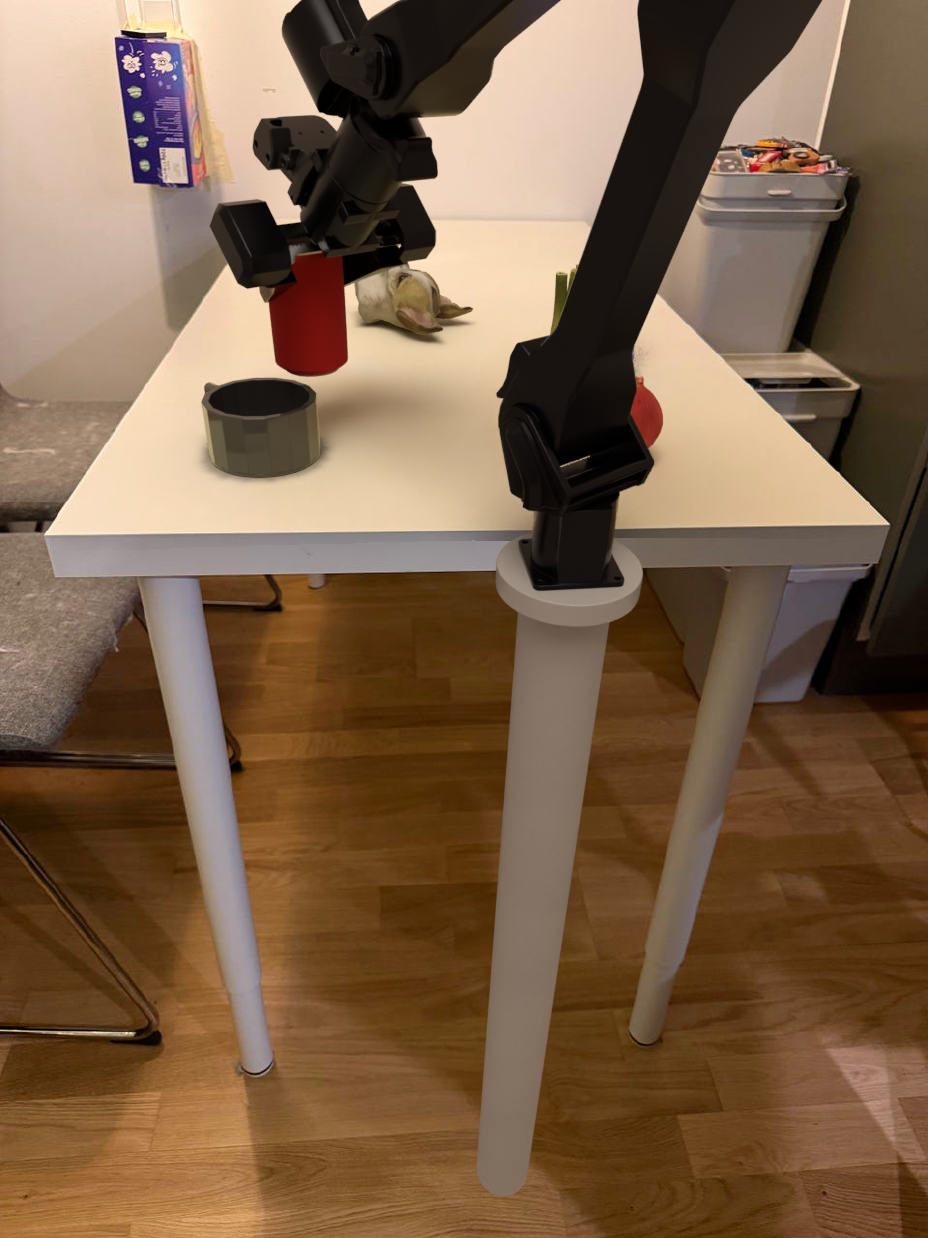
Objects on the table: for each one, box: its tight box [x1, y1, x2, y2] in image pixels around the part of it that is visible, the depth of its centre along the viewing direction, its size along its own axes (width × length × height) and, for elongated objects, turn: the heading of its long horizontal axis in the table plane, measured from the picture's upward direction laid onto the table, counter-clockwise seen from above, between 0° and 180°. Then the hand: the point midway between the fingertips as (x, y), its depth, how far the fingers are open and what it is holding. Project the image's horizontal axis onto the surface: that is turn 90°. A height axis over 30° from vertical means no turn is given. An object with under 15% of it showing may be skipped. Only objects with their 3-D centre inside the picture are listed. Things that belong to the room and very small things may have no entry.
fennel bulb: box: [549, 263, 579, 335], centre depth 97 cm, size 6×5×12 cm
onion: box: [631, 375, 664, 449], centre depth 80 cm, size 6×6×8 cm
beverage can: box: [268, 253, 349, 378], centre depth 78 cm, size 7×7×12 cm
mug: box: [200, 377, 321, 478], centre depth 81 cm, size 13×10×6 cm
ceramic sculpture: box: [353, 262, 474, 336], centre depth 112 cm, size 11×9×15 cm
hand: (298, 291), depth 79 cm, fingers closed on beverage can, 7 cm apart
